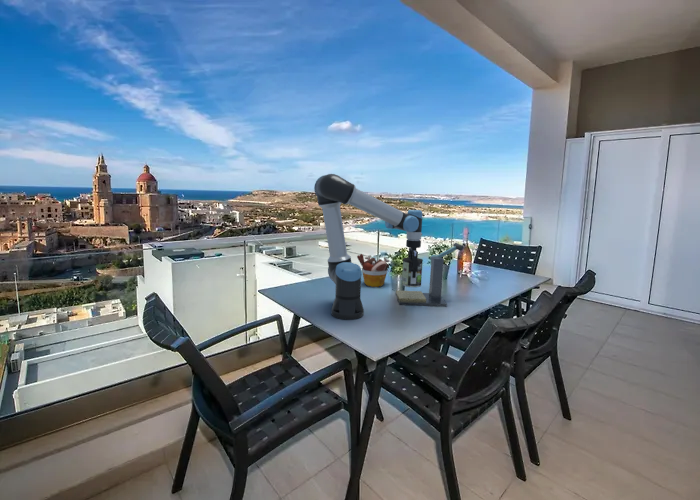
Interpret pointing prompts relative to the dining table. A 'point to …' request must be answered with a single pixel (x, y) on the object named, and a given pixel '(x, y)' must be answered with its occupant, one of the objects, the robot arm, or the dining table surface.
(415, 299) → the press frame
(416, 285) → the coffee can
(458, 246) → the press lever
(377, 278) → the bucket of meat
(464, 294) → the dining table surface
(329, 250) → the robot arm
